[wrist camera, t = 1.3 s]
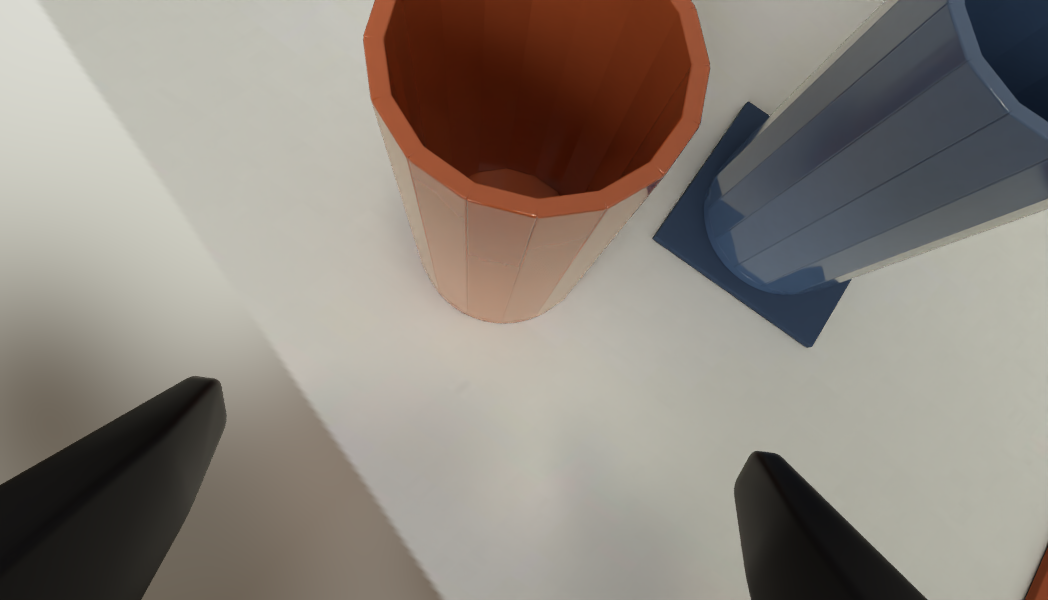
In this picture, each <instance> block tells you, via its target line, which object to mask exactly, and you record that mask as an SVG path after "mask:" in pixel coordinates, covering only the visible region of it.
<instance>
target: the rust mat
mask: <svg viewBox="0 0 1048 600" xmlns="http://www.w3.org/2000/svg"><path fill="white" fill-rule="evenodd" d="M1025 600H1048V548H1047V550H1046V552H1045V555H1044V557H1043V559H1042V562H1041V564H1040V566H1039V568H1038V571H1037V573H1036V575H1035V578H1034V580H1033V582H1032V585H1031V587H1030V589H1029V591H1028V594H1027V596H1026V598H1025Z"/></svg>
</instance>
